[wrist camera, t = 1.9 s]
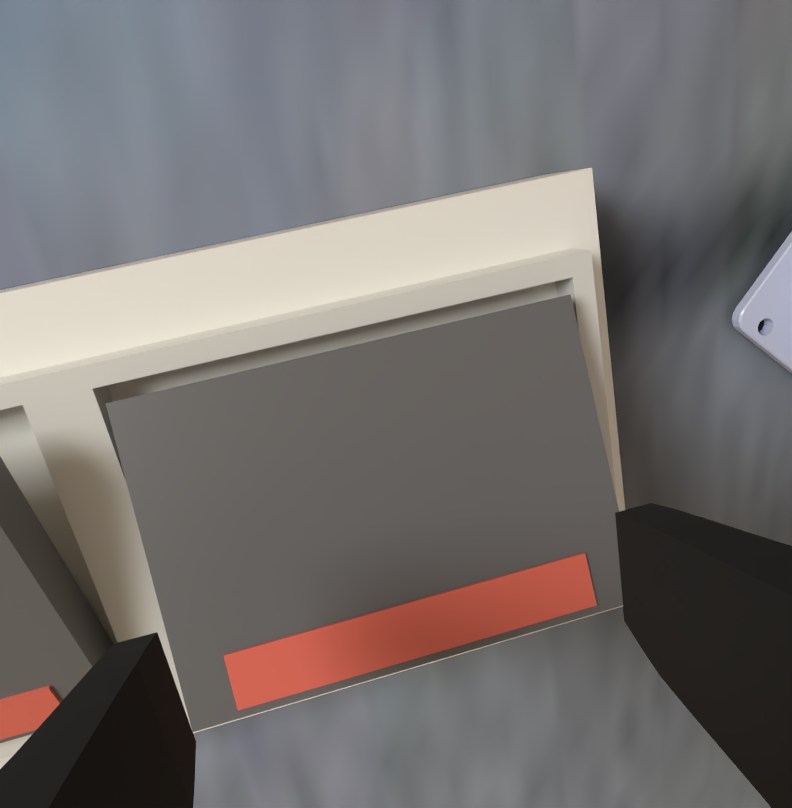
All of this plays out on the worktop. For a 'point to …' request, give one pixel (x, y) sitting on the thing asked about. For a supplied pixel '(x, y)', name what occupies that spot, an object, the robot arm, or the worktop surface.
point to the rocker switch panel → (264, 345)
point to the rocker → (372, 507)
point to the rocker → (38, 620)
